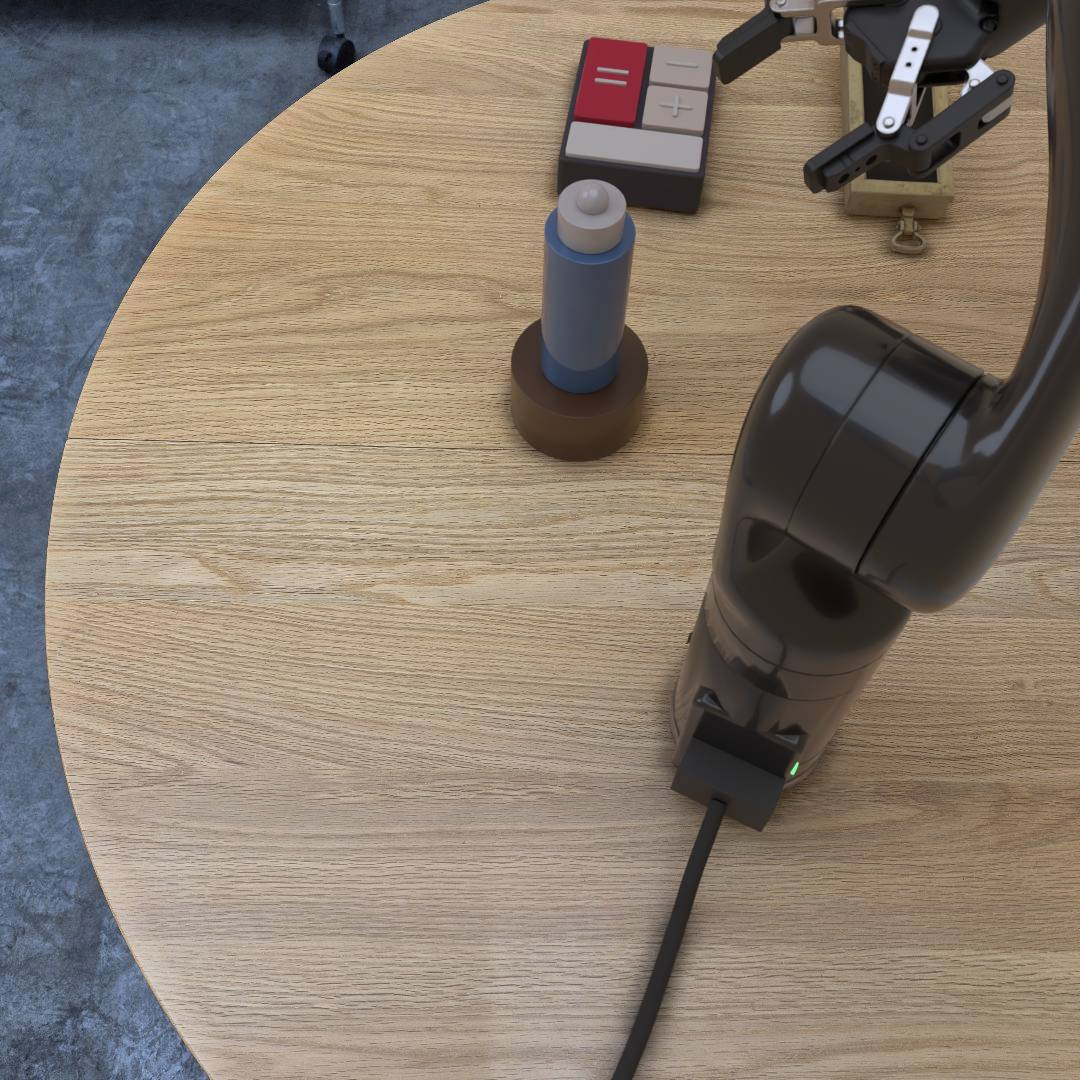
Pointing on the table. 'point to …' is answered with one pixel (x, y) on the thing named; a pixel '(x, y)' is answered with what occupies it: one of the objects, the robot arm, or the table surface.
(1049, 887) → the table surface
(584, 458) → the stand
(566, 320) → the pepper mill
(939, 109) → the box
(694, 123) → the calculator
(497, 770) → the table surface
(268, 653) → the table surface
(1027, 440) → the robot arm
